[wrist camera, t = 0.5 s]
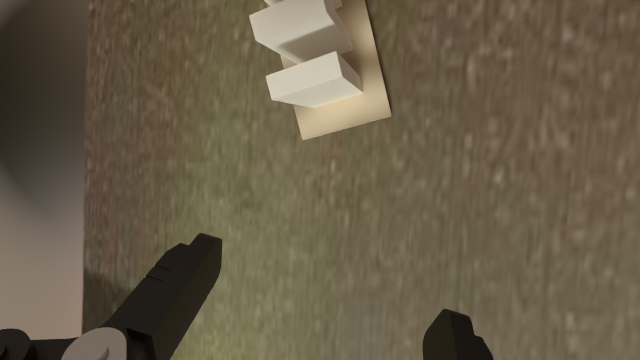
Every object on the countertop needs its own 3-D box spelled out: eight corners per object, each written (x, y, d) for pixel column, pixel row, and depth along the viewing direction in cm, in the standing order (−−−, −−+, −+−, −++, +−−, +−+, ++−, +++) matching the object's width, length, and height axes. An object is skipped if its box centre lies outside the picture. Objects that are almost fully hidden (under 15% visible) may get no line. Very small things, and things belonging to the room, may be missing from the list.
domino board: (391, 115, 29) (391, 115, 28) (305, 139, 32) (302, 139, 31) (332, -141, 27) (329, -150, 26) (245, -92, 30) (239, -99, 29)
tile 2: (353, 50, 28) (326, 11, 19) (303, 67, 30) (255, 40, 20) (348, 32, 28) (319, -16, 19) (299, 51, 30) (249, 15, 20)
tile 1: (363, 93, 29) (342, 76, 19) (314, 108, 30) (271, 99, 21) (359, 76, 28) (336, 50, 19) (310, 92, 30) (265, 76, 20)
